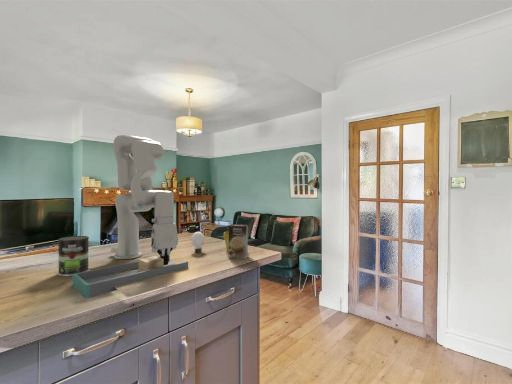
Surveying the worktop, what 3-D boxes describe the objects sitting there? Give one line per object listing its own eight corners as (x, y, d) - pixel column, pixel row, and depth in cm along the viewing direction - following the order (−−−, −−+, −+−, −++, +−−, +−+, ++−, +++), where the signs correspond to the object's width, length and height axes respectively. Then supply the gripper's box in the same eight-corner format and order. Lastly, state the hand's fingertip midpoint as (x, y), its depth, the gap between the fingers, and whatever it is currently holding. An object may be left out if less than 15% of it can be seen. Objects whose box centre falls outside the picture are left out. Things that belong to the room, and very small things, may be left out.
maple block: (155, 266, 112) (154, 255, 112) (163, 270, 107) (163, 259, 107) (138, 270, 107) (138, 259, 107) (146, 274, 102) (146, 262, 102)
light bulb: (203, 253, 140) (203, 232, 140) (190, 253, 140) (190, 232, 140) (205, 250, 147) (205, 230, 147) (192, 250, 147) (192, 230, 146)
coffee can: (87, 274, 107) (87, 239, 107) (55, 278, 102) (55, 241, 102) (90, 267, 116) (89, 234, 116) (61, 270, 111) (60, 236, 111)
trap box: (168, 263, 122) (168, 254, 122) (188, 271, 111) (188, 261, 111) (72, 285, 95) (72, 274, 94) (86, 298, 84) (86, 285, 84)
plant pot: (234, 253, 141) (235, 235, 141) (219, 251, 146) (219, 233, 146) (246, 249, 150) (246, 232, 149) (231, 247, 155) (231, 230, 155)
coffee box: (227, 258, 131) (227, 225, 131) (230, 255, 137) (230, 224, 137) (246, 259, 130) (246, 226, 130) (248, 255, 136) (248, 224, 136)
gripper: (151, 223, 103) (151, 270, 103) (184, 219, 114) (185, 262, 114) (142, 221, 108) (142, 266, 108) (175, 218, 119) (175, 259, 119)
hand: (164, 264), depth 111 cm, fingers closed
